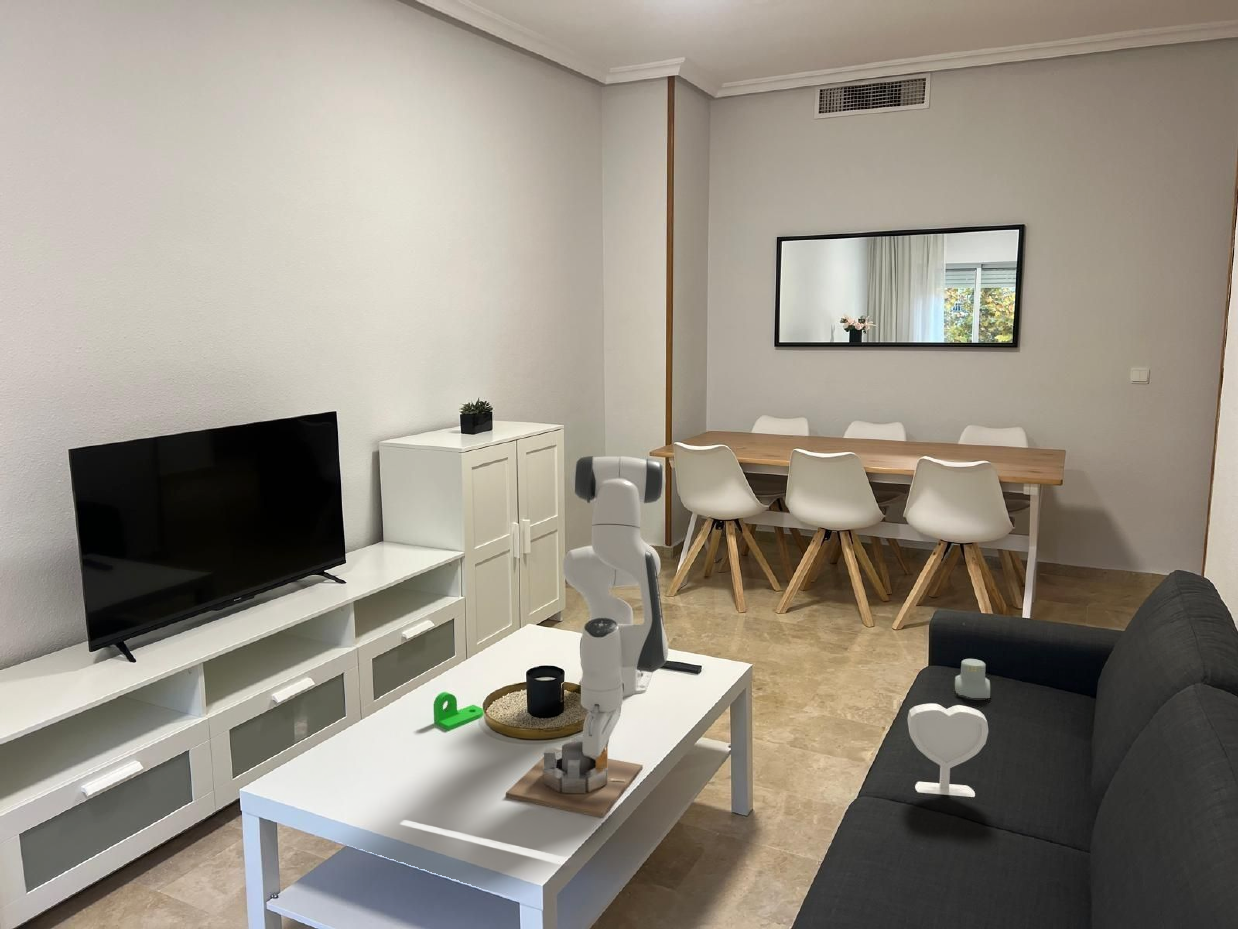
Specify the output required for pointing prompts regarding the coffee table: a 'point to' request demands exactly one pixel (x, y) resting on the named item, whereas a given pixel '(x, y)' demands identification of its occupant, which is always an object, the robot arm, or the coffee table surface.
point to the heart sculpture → (947, 741)
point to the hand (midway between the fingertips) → (602, 757)
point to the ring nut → (574, 772)
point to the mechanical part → (453, 712)
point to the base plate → (586, 803)
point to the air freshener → (972, 680)
